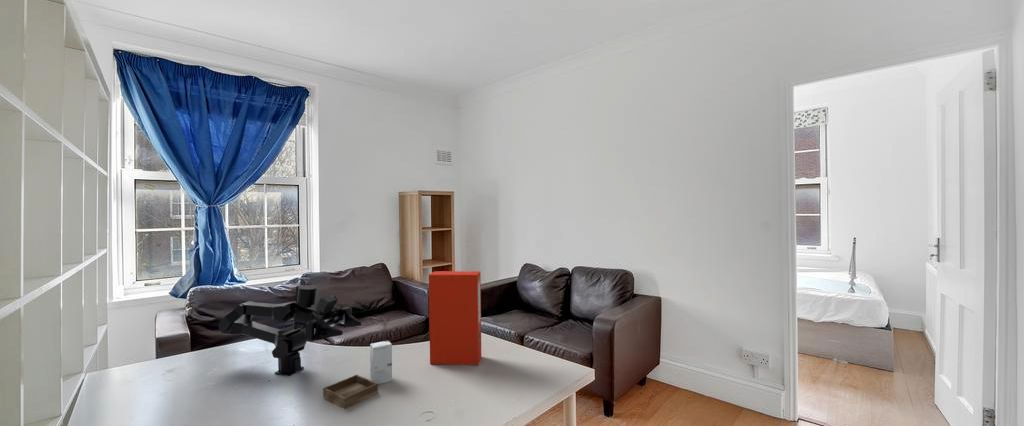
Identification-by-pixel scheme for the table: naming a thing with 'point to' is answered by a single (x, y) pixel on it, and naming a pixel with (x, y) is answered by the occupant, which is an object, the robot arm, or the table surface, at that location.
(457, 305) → the file binder
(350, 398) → the shallow wooden tray
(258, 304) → the robot arm
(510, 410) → the table surface
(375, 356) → the skincare box
